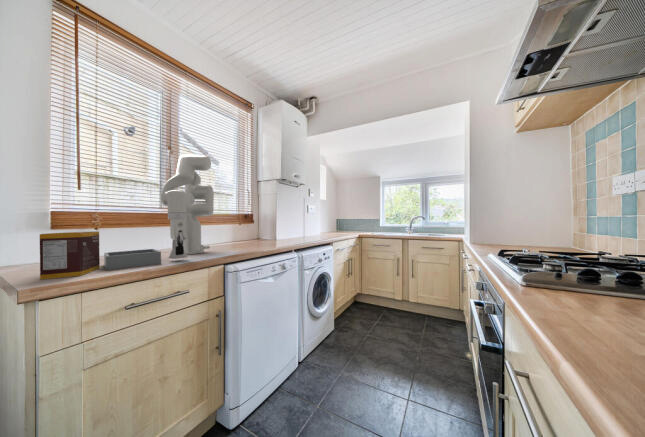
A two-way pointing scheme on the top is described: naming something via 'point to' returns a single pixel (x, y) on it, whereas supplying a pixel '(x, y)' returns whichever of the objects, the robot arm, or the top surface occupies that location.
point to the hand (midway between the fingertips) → (178, 253)
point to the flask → (173, 252)
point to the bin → (131, 258)
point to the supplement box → (68, 254)
